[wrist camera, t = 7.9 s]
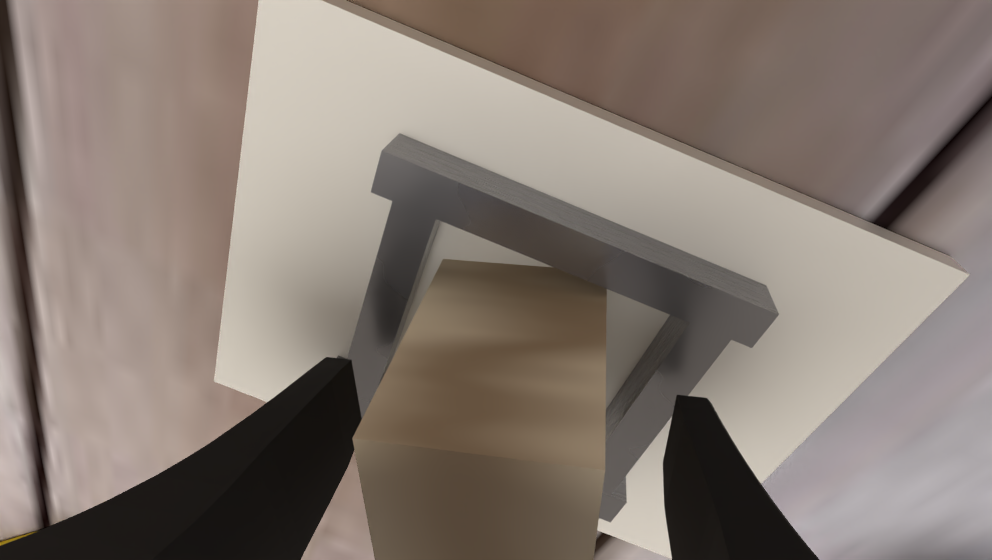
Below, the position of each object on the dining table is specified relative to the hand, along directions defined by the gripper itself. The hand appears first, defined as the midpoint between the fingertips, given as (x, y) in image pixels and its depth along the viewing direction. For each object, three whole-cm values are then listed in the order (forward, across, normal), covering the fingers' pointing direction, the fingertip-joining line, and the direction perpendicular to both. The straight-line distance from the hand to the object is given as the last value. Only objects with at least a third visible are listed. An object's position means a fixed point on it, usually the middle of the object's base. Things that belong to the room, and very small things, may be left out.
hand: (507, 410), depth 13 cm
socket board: (+3, 0, 0) cm, 3 cm away
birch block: (+3, 0, 0) cm, 3 cm away
